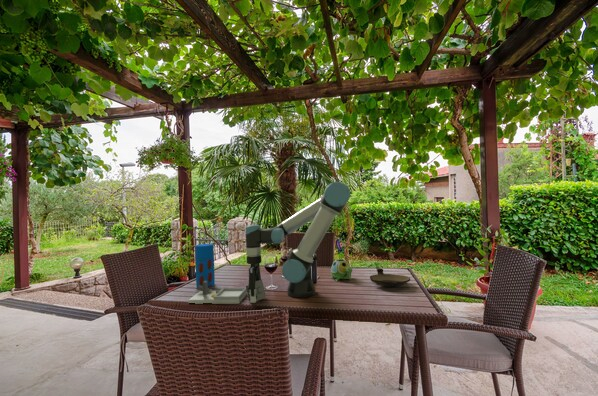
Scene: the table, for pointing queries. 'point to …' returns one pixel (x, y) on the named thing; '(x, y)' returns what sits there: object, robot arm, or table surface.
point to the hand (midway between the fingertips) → (255, 298)
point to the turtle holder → (341, 269)
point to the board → (220, 296)
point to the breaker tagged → (205, 288)
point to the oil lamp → (388, 279)
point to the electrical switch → (257, 290)
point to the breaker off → (202, 289)
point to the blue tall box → (204, 264)
